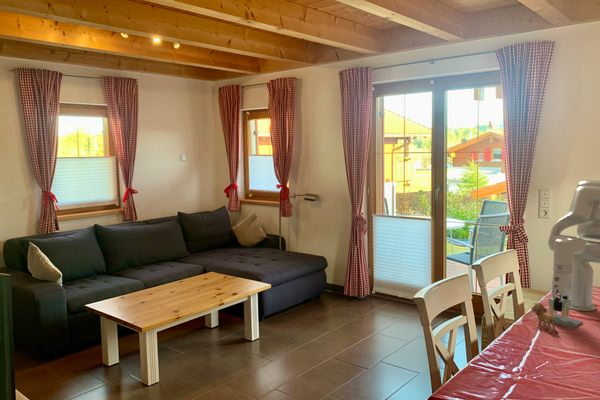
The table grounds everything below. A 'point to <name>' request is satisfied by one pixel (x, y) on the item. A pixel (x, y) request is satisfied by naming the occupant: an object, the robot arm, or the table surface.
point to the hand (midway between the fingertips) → (560, 308)
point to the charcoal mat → (566, 321)
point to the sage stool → (565, 307)
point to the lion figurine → (544, 316)
